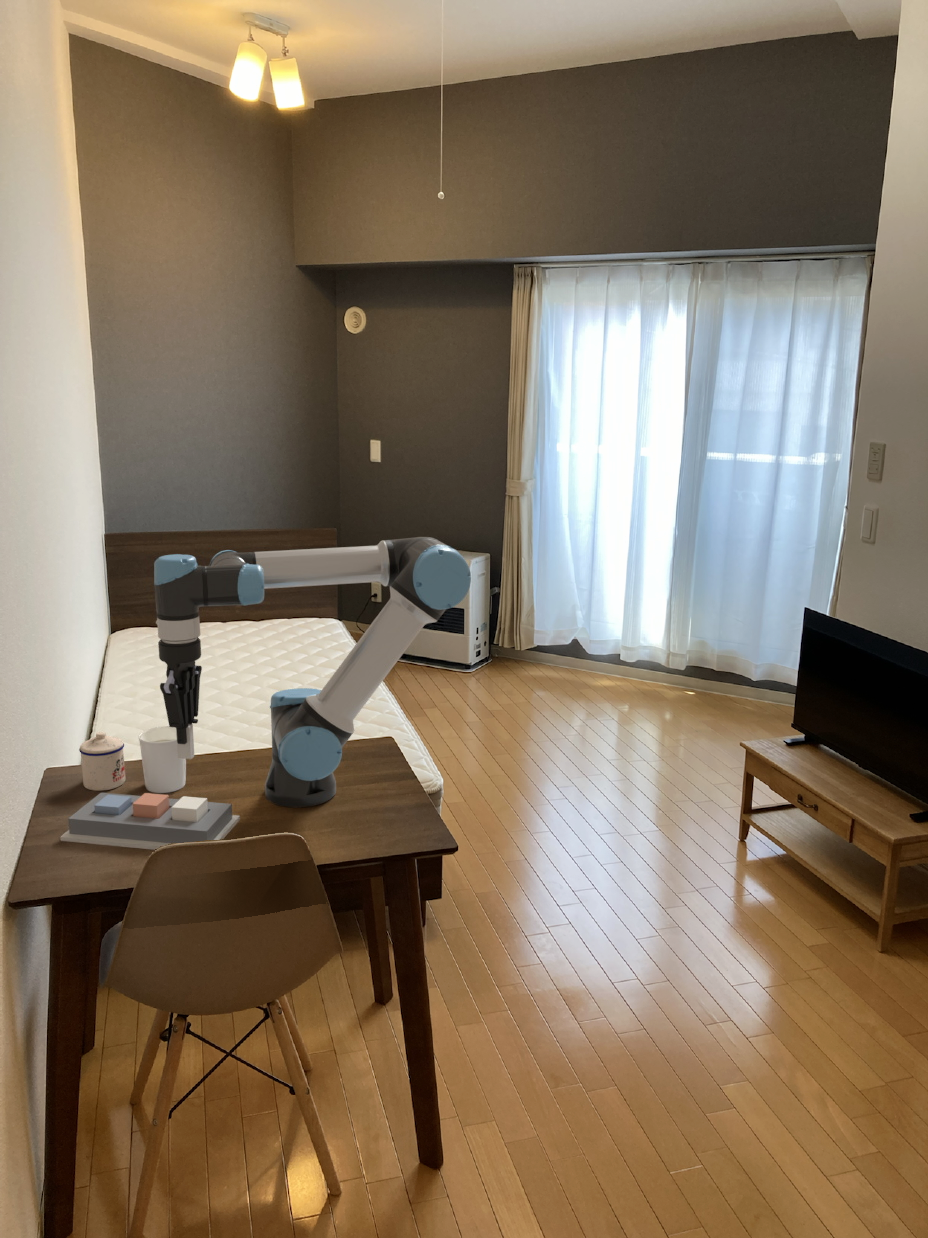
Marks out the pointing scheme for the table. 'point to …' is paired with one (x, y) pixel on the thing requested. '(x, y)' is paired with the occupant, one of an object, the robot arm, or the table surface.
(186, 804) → the white key
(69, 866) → the table surface
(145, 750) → the candle holder
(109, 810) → the blue key
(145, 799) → the terracotta key
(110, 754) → the teacup with lid
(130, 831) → the key console
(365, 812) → the table surface
